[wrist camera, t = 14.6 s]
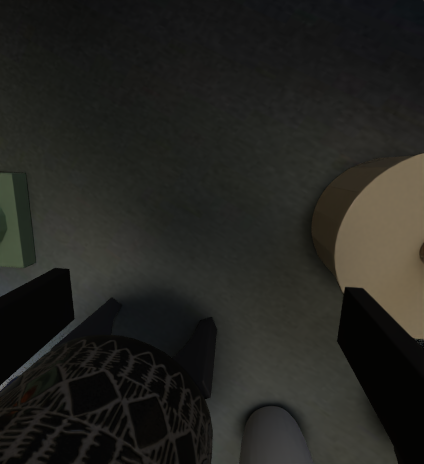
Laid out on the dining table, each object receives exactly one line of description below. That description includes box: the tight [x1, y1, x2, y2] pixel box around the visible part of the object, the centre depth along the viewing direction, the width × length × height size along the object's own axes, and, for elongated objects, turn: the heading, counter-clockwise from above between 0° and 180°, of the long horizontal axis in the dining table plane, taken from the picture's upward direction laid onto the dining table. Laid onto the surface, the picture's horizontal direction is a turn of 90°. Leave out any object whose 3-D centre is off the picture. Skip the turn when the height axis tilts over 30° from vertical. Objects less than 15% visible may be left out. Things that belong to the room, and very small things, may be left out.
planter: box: [0, 298, 217, 464], centre depth 25 cm, size 20×20×26 cm
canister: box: [311, 156, 410, 276], centre depth 27 cm, size 15×15×10 cm
